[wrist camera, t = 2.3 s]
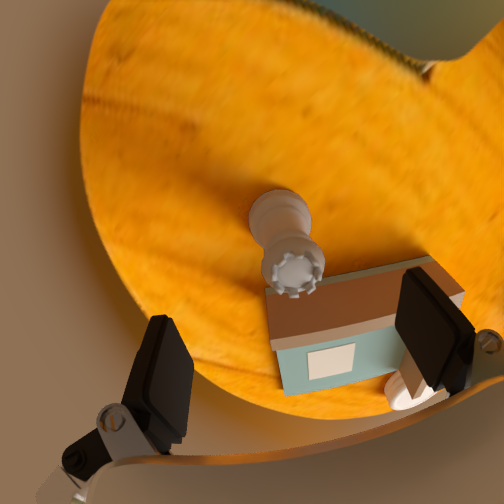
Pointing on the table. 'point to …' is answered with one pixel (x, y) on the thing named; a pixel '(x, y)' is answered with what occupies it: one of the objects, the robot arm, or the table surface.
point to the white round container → (403, 393)
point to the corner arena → (348, 328)
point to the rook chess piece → (286, 242)
